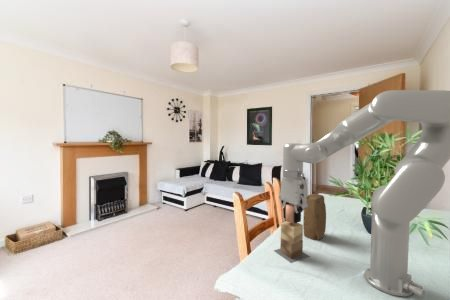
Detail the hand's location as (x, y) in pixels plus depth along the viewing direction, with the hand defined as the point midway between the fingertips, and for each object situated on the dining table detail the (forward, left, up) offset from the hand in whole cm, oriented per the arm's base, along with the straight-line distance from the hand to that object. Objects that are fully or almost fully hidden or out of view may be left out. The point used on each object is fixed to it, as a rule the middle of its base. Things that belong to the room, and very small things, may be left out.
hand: (292, 219), depth 85 cm
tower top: (0, 0, -8) cm, 8 cm away
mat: (0, 0, -14) cm, 14 cm away
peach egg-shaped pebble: (0, 0, 0) cm, 0 cm away
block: (+7, -22, -15) cm, 27 cm away
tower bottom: (0, 0, -14) cm, 14 cm away
